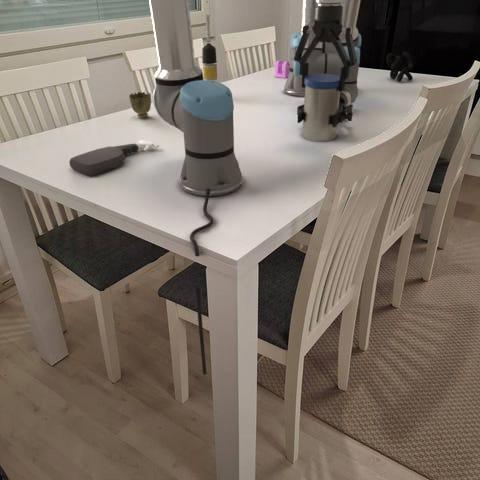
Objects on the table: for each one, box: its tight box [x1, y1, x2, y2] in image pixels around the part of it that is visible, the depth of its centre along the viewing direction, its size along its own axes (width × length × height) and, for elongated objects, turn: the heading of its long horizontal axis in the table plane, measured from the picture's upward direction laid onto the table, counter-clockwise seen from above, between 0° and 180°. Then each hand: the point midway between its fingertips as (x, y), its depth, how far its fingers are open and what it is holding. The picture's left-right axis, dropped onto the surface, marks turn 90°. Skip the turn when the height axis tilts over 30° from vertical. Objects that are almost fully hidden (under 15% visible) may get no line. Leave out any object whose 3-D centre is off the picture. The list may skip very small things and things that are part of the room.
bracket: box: [274, 59, 290, 79], centre depth 212 cm, size 13×6×7 cm, turn 143°
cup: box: [128, 91, 152, 119], centre depth 156 cm, size 8×7×8 cm
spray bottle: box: [68, 139, 160, 177], centre depth 124 cm, size 3×11×24 cm
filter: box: [201, 14, 218, 82], centre depth 171 cm, size 6×6×30 cm
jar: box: [302, 85, 340, 142], centre depth 135 cm, size 10×10×17 cm
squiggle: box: [385, 51, 414, 83], centre depth 198 cm, size 11×10×15 cm
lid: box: [304, 74, 340, 89], centre depth 130 cm, size 11×11×2 cm
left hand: (322, 88), depth 131 cm, fingers closed on lid, 11 cm apart
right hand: (316, 120), depth 133 cm, fingers closed on jar, 10 cm apart
